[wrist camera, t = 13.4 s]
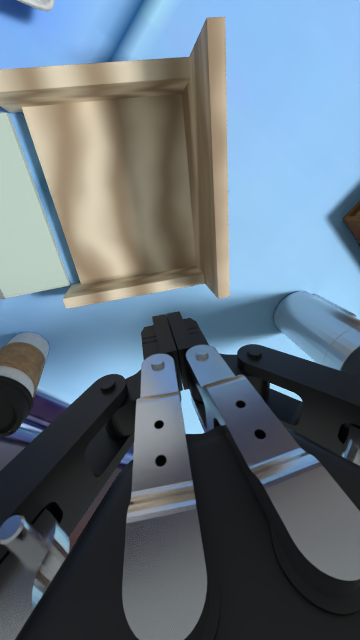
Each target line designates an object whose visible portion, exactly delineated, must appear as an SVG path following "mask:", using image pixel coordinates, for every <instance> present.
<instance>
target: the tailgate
mask: <svg viewBox="0 0 360 640" xmlns="http://www.w3.org/2000/svg"><path fill="white" fill-rule="evenodd" d="M69 285H70V281H69V278H68V275H67V272H66V269H65V267H64V264H63V261H62V258H61V255H60V253H59V250H58V247H57V244H56V242H55V239H54V236H53V233H52V230H51V228H50V225H49V222H48V219H47V216H46V214H45V211H44V208H43V205H42V203H41V200H40V197H39V194H38V191H37V189H36V186H35V183H34V180H33V177H32V175H31V172H30V169H29V166H28V164H27V161H26V158H25V155H24V152H23V150H22V147H21V144H20V141H19V138H18V136H17V133H16V130H15V127H14V125H13V122H12V119H11V117H10V116H9V115H8V114H7V113H0V299H5V298H9V297H15V296H20V295H25V294H30V293H35V292H40V291H45V290H50V289H55V288H60V287H65V286H69Z"/></svg>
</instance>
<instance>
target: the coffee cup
mask: <svg viewBox="0 0 360 640" xmlns="http://www.w3.org/2000/svg"><path fill="white" fill-rule="evenodd" d="M48 352H49V345H48V342H47V341H46V340H45V338H43V337H42V336H40V335H39V334H36V333H32V332H23V333H19V334H17V335H16V336H14V337H13V338H12V339H11V340H10V341H9V342H8V343H7V344H6V345H5V346H4V347H3V348H2V349H0V438H1V437H5V436H9V435H12V434H13V433H15V432H16V430H17V429H18V428H19V427H20V426H21V424H22V423H23V421H24V420H25V418H26V417H27V416H28V415H29V413H30V411H31V409H32V406H33V397H34V396H35V393H36V390H37V387H38V384H39V381H40V377H41V374H42V371H43V368H44V364H45V361H46V358H47V355H48Z"/></svg>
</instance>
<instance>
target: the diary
mask: <svg viewBox="0 0 360 640" xmlns="http://www.w3.org/2000/svg"><path fill="white" fill-rule="evenodd" d="M344 221H345V222H346V224H347V226H348V227H349V229H350V230H351V232H352V234H353V235H354V237H355V238H356V240H357V242H358V243H359V245H360V202H359V203H358V204H357V205H356V206H355V207H354V208H353V209H352V210H351V211H350V212H349V213H348V214H347V215H346V216H345V217H344Z"/></svg>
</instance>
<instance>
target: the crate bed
mask: <svg viewBox="0 0 360 640" xmlns="http://www.w3.org/2000/svg"><path fill="white" fill-rule="evenodd" d="M0 106H1V107H2V108H4V109H5V110H7V111H8V112H10V113H16V112H23V113H24V116H25V119H26V122H27V125H28V128H29V131H30V134H31V137H32V140H33V143H34V146H35V149H36V152H37V155H38V158H39V161H40V164H41V166H42V169H43V172H44V175H45V178H46V181H47V184H48V187H49V190H50V193H51V196H52V199H53V202H54V205H55V208H56V211H57V214H58V217H59V220H60V223H61V226H62V229H63V232H64V235H65V238H66V241H67V244H68V247H69V250H70V253H71V256H72V259H73V262H74V265H75V267H76V270H77V273H78V276H79V279H80V282H81V283H78V284H72V285H71V286H70V288H69V289H68V291H67V293H66V294H65V296H64V297H63V301H64V304H65V306H66V309H68V308H73V307H79V306H84V305H90V304H95V303H101V302H106V301H112V300H117V299H123V298H128V297H133V296H139V295H144V294H150V293H155V292H161V291H166V290H172V289H177V288H183V287H188V286H194V285H199V284H204V283H205V284H206V285H207V286H208V288H209V289H210V290H211V291H212V292H213V293H214V294H215V295H216V297H217V298H218V299H219V298H225V297H230V291H229V228H228V165H227V102H226V39H225V17H212V18H206V21H205V23H204V25H203V27H202V30H201V32H200V34H199V36H198V38H197V41H196V43H195V45H194V47H193V50H192V52H191V54H190V56H189V57H180V58H165V59H150V60H136V61H121V62H106V63H91V64H76V65H61V66H46V67H32V68H17V69H2V70H0Z"/></svg>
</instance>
